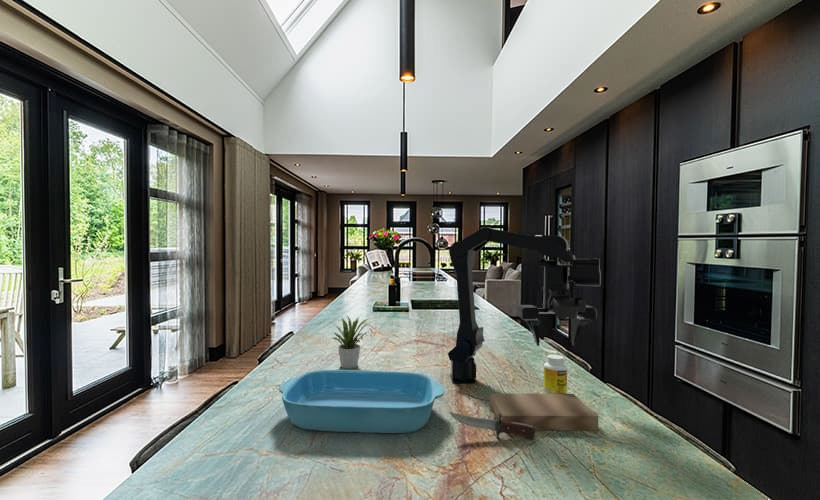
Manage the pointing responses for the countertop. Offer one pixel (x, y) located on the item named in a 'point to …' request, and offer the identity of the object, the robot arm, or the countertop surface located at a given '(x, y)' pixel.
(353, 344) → the house plant
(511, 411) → the walnut stand
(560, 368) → the supplement bottle
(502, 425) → the knife
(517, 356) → the countertop surface
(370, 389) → the casserole dish
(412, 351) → the countertop surface
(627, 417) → the countertop surface
